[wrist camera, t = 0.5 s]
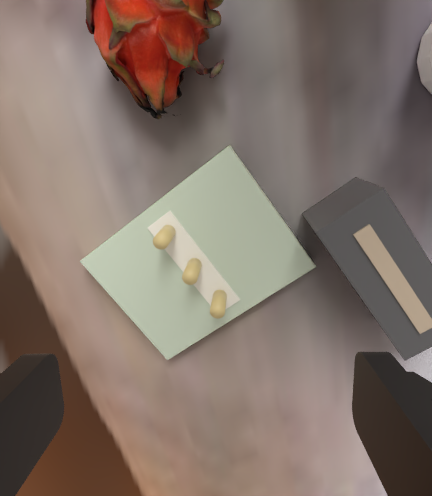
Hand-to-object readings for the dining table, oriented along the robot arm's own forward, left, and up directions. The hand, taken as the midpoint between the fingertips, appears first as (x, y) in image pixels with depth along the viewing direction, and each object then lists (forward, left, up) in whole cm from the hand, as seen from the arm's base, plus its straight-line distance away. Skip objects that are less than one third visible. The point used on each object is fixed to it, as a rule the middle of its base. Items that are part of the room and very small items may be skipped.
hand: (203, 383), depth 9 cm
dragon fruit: (-4, -14, -22) cm, 26 cm away
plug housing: (-7, +9, -21) cm, 24 cm away
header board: (+5, +1, -21) cm, 22 cm away
